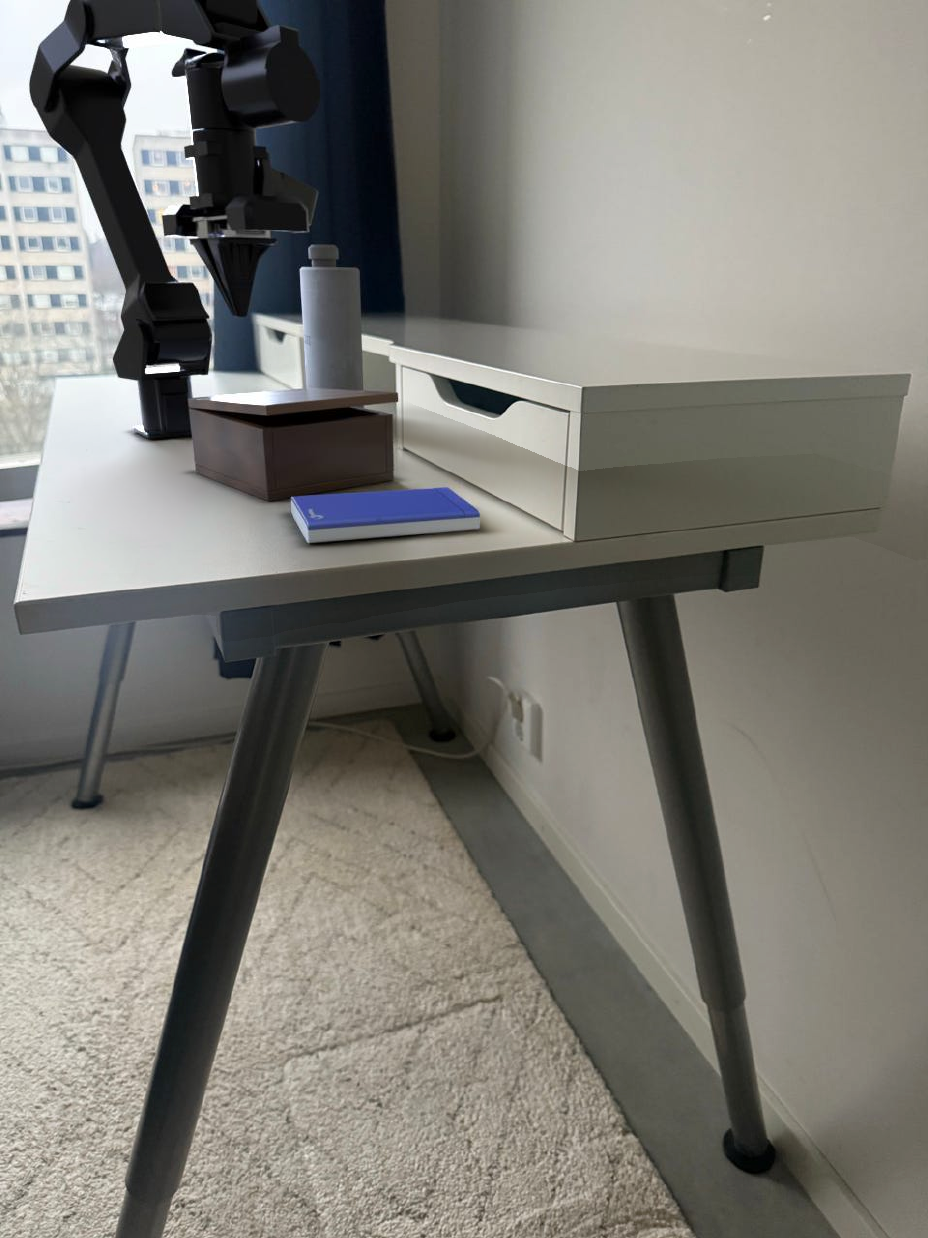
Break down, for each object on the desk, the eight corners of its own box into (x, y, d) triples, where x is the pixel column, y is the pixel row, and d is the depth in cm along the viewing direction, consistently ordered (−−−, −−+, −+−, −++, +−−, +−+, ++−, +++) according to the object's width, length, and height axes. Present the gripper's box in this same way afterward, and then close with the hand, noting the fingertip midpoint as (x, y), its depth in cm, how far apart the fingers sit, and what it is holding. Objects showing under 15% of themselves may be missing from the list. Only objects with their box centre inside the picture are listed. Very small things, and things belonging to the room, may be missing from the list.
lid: (398, 401, 74) (398, 392, 73) (266, 415, 66) (265, 405, 66) (311, 396, 84) (310, 387, 84) (188, 407, 77) (187, 398, 76)
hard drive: (307, 523, 58) (480, 510, 62) (290, 494, 65) (446, 484, 69) (308, 545, 59) (479, 531, 62) (291, 514, 66) (446, 503, 69)
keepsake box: (394, 479, 77) (393, 414, 75) (268, 501, 69) (262, 429, 67) (314, 455, 87) (311, 396, 84) (195, 472, 79) (188, 407, 77)
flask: (300, 408, 115) (291, 245, 107) (344, 406, 117) (337, 246, 109) (320, 427, 102) (310, 242, 94) (368, 424, 103) (362, 243, 96)
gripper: (355, 130, 76) (363, 318, 82) (256, 152, 89) (269, 312, 95) (239, 116, 69) (256, 321, 75) (150, 142, 82) (171, 314, 88)
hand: (240, 316), depth 83 cm, fingers closed
